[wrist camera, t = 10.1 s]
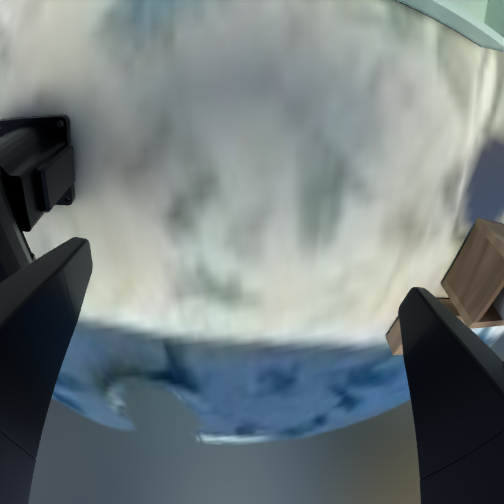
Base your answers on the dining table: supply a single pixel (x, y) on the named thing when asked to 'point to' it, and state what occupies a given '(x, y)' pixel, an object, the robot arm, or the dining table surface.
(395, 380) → the dining table surface
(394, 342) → the wooden switch box
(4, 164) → the robot arm
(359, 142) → the dining table surface
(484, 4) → the trough
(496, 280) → the bin
